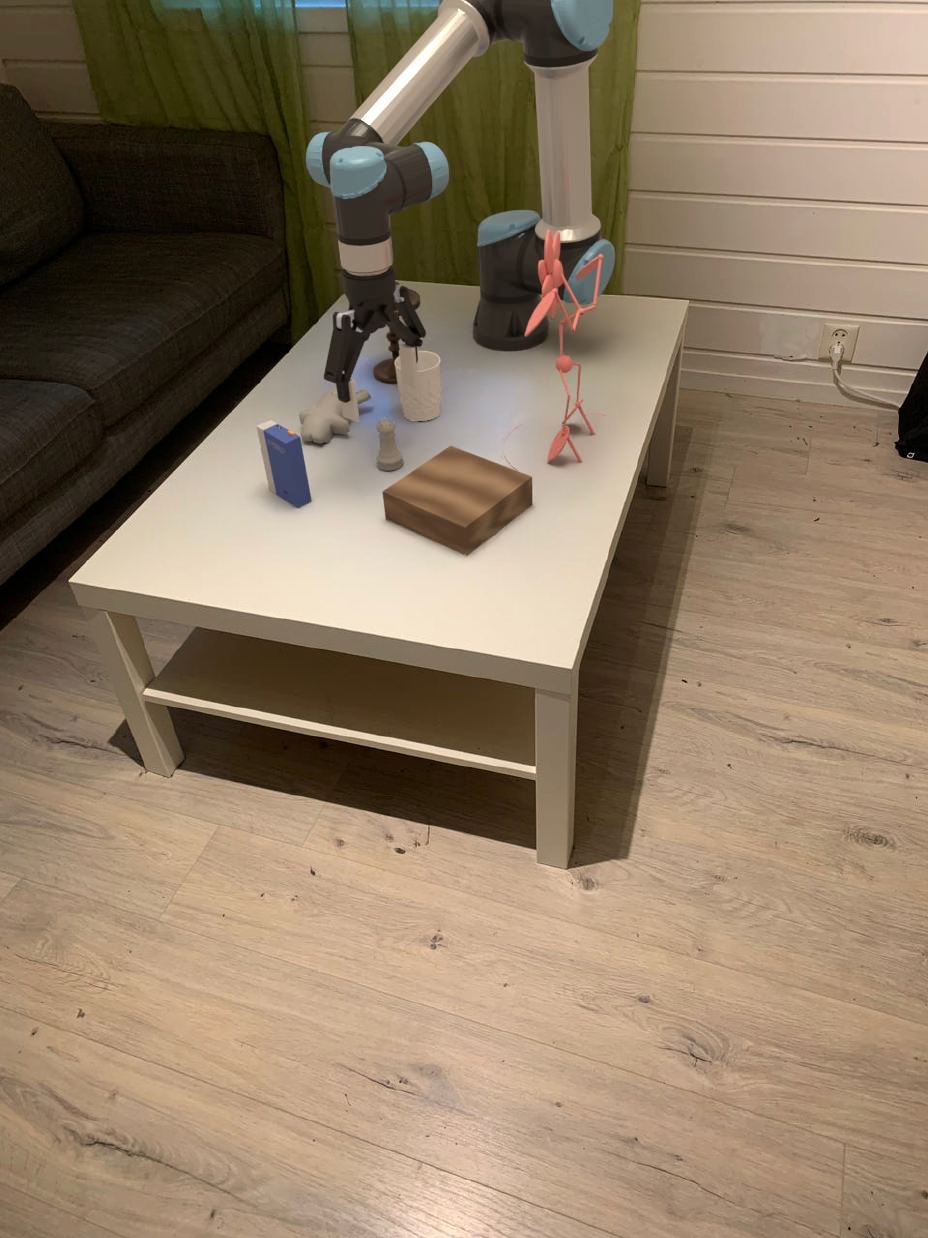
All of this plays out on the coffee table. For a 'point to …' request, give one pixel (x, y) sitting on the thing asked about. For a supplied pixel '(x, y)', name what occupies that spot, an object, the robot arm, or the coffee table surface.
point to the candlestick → (393, 347)
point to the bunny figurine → (327, 417)
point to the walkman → (284, 463)
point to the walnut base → (458, 499)
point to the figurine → (561, 324)
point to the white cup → (421, 388)
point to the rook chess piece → (388, 446)
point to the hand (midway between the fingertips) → (381, 401)
